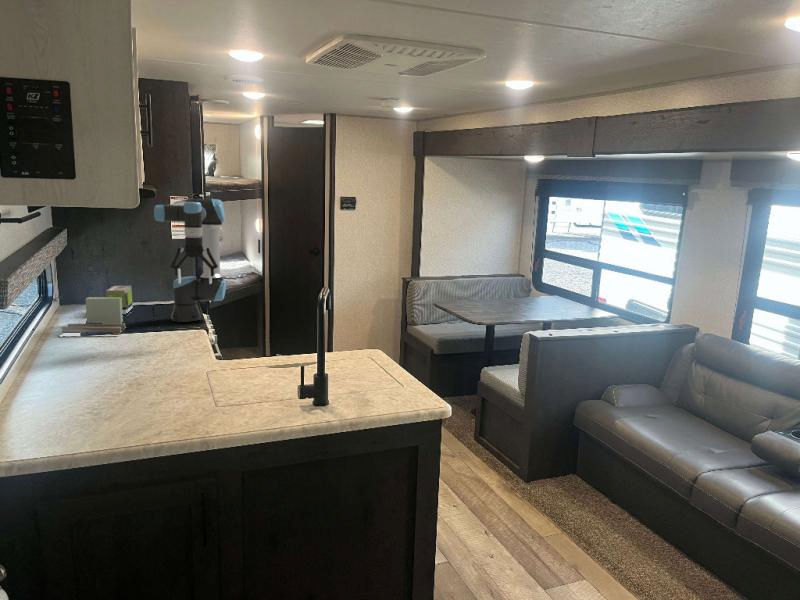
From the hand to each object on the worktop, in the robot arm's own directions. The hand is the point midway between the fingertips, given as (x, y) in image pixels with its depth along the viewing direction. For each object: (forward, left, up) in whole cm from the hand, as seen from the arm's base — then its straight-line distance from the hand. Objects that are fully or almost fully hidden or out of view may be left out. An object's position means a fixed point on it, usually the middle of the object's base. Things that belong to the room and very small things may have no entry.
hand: (195, 283), depth 278 cm
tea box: (-67, -51, -28) cm, 88 cm away
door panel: (-39, -51, -28) cm, 69 cm away
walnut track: (-22, -51, -28) cm, 62 cm away
